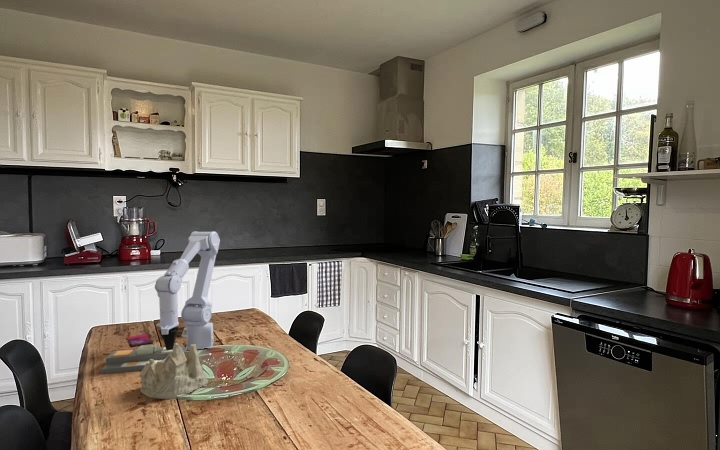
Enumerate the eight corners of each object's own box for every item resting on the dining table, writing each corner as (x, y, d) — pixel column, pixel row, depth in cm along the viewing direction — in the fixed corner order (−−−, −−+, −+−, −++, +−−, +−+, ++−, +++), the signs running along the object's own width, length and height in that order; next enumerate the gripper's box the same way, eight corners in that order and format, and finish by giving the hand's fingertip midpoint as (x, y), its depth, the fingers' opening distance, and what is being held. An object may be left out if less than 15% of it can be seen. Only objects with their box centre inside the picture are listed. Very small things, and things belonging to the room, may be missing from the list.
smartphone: (146, 333, 183) (153, 342, 171) (146, 335, 183) (153, 344, 171) (125, 337, 179) (131, 346, 166) (125, 339, 179) (131, 348, 166)
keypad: (186, 351, 161) (186, 341, 160) (178, 367, 145) (177, 356, 145) (118, 357, 156) (117, 347, 156) (101, 373, 140) (101, 362, 140)
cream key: (179, 351, 155) (179, 346, 155) (176, 356, 150) (176, 350, 150) (164, 353, 154) (164, 347, 154) (160, 357, 149) (160, 352, 149)
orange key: (133, 355, 152) (133, 349, 152) (128, 360, 147) (128, 354, 147) (117, 356, 151) (117, 351, 151) (112, 361, 146) (112, 355, 146)
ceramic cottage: (215, 381, 132) (210, 332, 131) (168, 405, 118) (162, 350, 117) (182, 375, 140) (176, 329, 139) (133, 397, 126) (127, 346, 125)
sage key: (156, 350, 153) (156, 344, 153) (152, 354, 148) (152, 348, 148) (141, 351, 152) (140, 345, 152) (136, 356, 147) (136, 350, 147)
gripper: (161, 306, 157) (162, 343, 158) (150, 316, 143) (152, 357, 144) (182, 305, 159) (183, 342, 159) (173, 315, 145) (175, 355, 145)
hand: (170, 349), depth 152 cm, fingers closed, pressing on cream key
